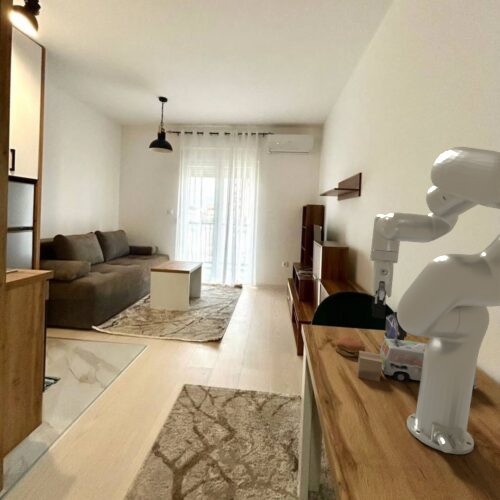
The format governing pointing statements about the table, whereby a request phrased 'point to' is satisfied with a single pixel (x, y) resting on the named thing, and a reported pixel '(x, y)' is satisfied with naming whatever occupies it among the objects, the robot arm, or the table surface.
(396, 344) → the toy car
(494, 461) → the table surface
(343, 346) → the burger
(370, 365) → the light brown cube
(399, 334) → the decorative emblem
